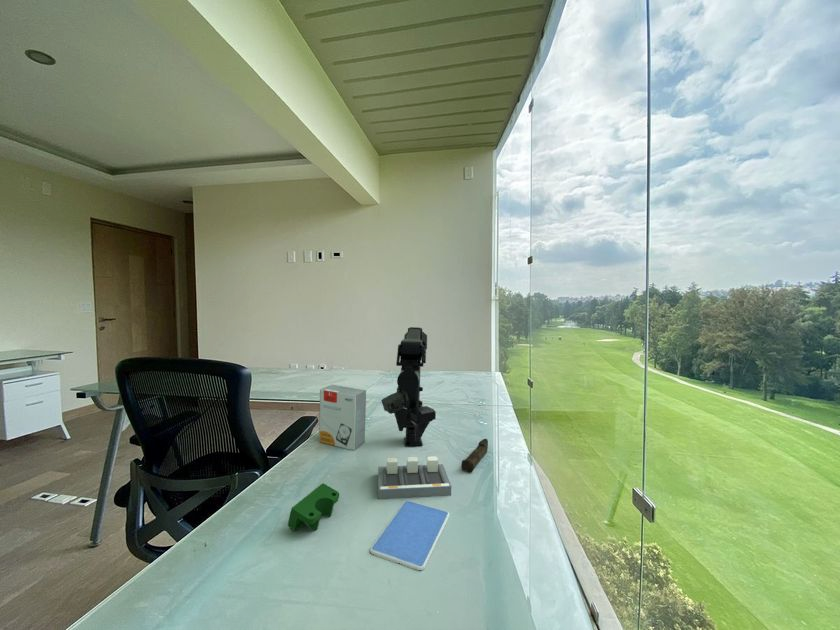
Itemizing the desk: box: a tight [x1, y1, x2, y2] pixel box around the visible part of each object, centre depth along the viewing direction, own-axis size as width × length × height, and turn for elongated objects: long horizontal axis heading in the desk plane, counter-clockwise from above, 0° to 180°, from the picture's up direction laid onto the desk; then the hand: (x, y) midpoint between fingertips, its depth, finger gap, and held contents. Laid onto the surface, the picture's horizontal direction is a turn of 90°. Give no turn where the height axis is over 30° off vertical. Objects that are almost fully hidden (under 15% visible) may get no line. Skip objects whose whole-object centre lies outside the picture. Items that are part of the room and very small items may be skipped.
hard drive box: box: [318, 384, 367, 451], centre depth 122 cm, size 16×8×20 cm, turn 68°
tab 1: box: [386, 457, 399, 474], centre depth 98 cm, size 2×3×4 cm
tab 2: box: [406, 456, 419, 473], centre depth 99 cm, size 2×3×4 cm
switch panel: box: [377, 463, 452, 500], centre depth 96 cm, size 12×20×3 cm, turn 97°
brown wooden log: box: [460, 438, 489, 473], centre depth 112 cm, size 19×4×5 cm, turn 147°
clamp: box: [287, 482, 340, 532], centre depth 80 cm, size 12×6×9 cm, turn 151°
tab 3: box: [426, 456, 439, 472], centre depth 99 cm, size 2×3×4 cm
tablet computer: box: [369, 500, 450, 571], centre depth 77 cm, size 19×13×1 cm, turn 158°
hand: (408, 436), depth 98 cm, fingers open, 9 cm apart
